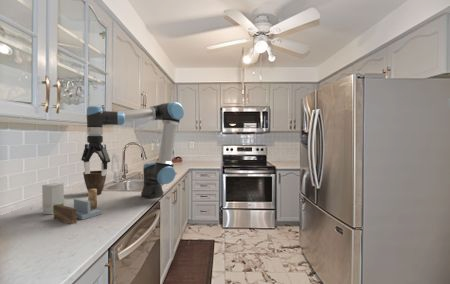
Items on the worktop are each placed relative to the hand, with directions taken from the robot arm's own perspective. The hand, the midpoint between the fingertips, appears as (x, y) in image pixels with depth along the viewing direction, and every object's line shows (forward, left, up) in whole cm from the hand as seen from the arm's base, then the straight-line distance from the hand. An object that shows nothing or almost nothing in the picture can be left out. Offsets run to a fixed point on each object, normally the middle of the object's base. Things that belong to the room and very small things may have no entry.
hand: (95, 174), depth 139 cm
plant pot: (-27, -40, -21) cm, 53 cm away
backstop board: (+16, -2, -21) cm, 26 cm away
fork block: (+5, -2, -21) cm, 21 cm away
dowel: (-4, -10, -21) cm, 23 cm away
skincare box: (+11, -22, -21) cm, 32 cm away
